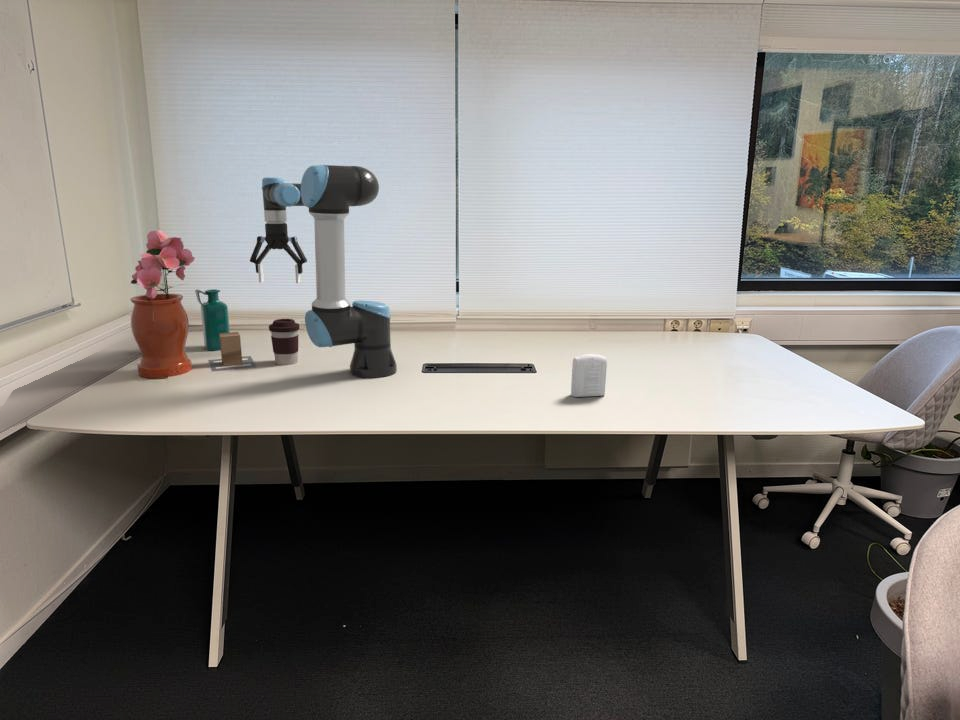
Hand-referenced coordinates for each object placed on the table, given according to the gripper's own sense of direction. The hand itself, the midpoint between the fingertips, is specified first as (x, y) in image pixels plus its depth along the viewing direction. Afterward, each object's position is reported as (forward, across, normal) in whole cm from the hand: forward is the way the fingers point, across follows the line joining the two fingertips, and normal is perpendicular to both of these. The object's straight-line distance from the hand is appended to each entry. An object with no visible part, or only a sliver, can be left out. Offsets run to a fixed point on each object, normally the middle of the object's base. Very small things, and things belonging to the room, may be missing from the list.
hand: (280, 282), depth 240 cm
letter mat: (+25, +10, +23) cm, 35 cm away
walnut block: (+24, +10, +23) cm, 35 cm away
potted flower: (+25, +26, +33) cm, 49 cm away
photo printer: (+25, -108, +46) cm, 120 cm away
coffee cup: (+25, -8, +20) cm, 33 cm away
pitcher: (+25, +26, +1) cm, 36 cm away
